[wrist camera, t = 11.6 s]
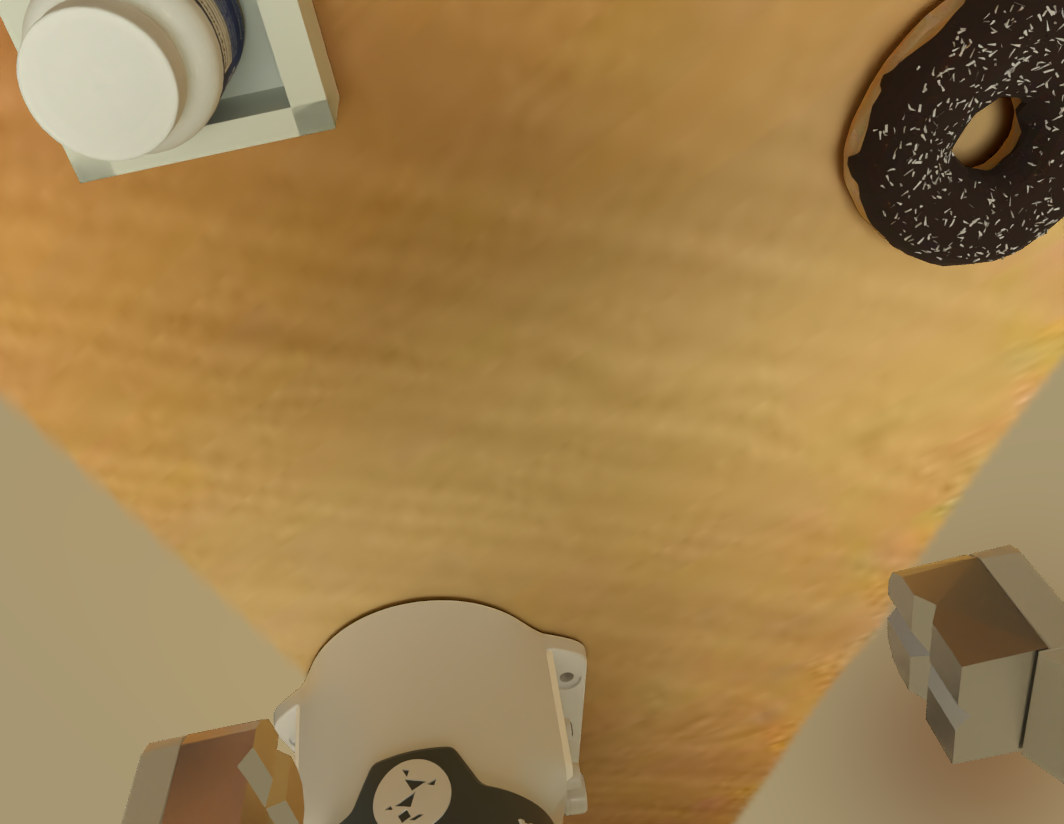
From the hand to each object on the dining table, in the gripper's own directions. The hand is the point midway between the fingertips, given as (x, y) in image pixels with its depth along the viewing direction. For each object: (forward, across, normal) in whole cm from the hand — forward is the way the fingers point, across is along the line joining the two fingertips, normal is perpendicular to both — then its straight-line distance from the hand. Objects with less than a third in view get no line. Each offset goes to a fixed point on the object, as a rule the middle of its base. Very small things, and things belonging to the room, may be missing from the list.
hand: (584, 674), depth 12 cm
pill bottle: (+28, +9, -6) cm, 30 cm away
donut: (+30, -21, +6) cm, 37 cm away
